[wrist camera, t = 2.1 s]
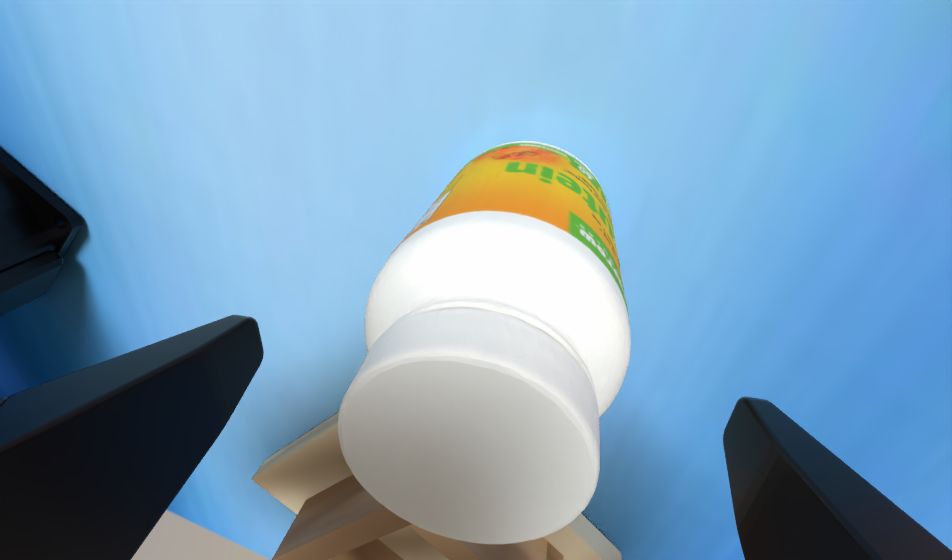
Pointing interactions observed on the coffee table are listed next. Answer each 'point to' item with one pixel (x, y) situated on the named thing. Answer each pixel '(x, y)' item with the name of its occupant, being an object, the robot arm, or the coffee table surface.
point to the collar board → (384, 516)
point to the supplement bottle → (493, 352)
